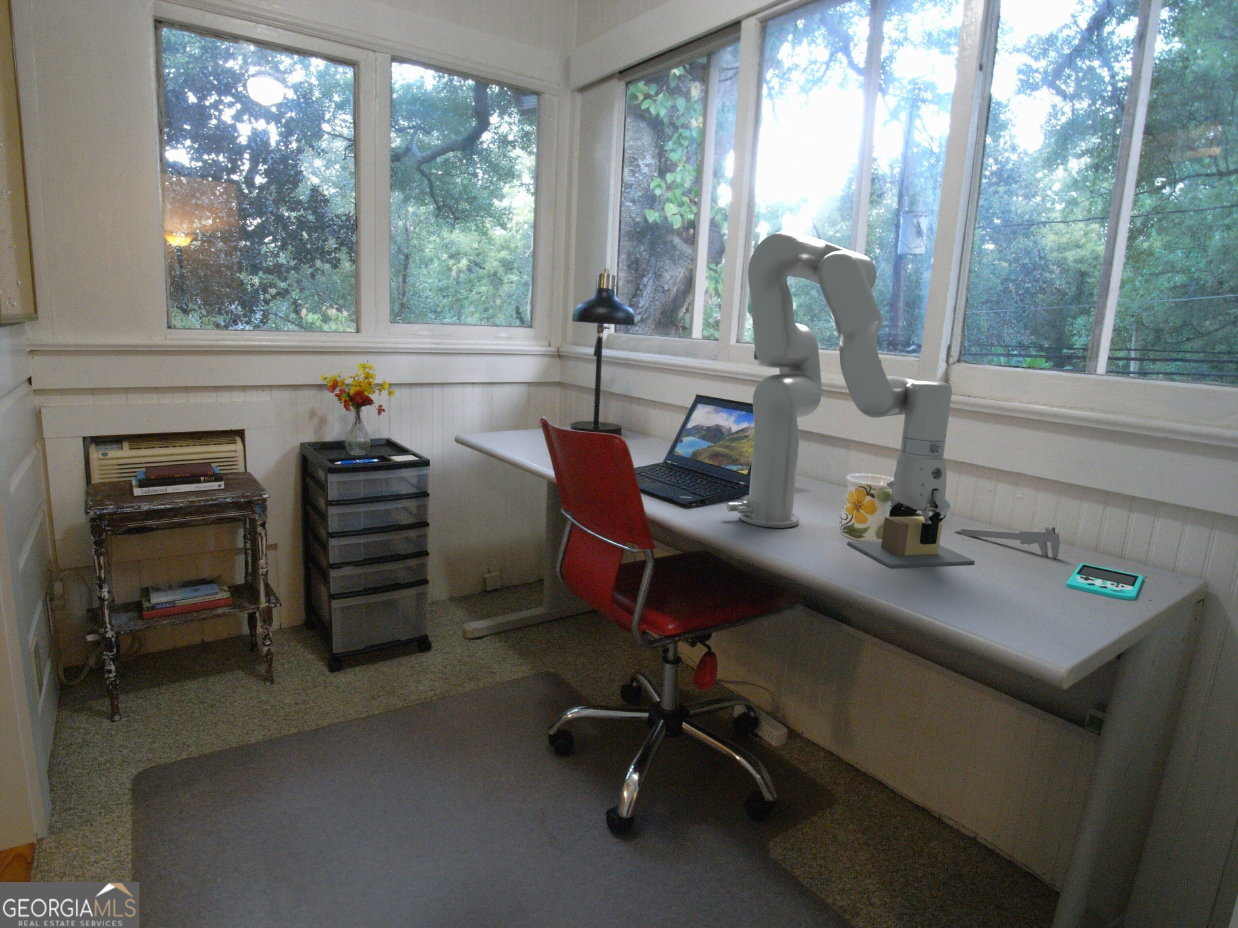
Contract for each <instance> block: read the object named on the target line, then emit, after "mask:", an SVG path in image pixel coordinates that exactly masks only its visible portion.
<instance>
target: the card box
mask: <svg viewBox="0 0 1238 928" xmlns="http://www.w3.org/2000/svg"><path fill="white" fill-rule="evenodd" d="M922 523H925V520H924V518H923V515H922V516H921V515H920V516H905V517H889V516H884V519H883V527H882V528H883V529H882V535H881V540H882V543H881V548H883V549H885V550H887V551H889V552H891V553H893V554H895V555H897V556H905V555H923V554H938V550H939V545H940V543H941V534H942V530H943V523H941V524H939V527H938V534H937V542H936V544H926V545H923V544H921V543H920V535H921V528H922Z"/></svg>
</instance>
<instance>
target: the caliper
mask: <svg viewBox="0 0 1238 928" xmlns="http://www.w3.org/2000/svg"><path fill="white" fill-rule="evenodd" d="M954 533H956V534H960V535H963V536H965V537H966V536H967V537H978V538H990V539H1003V540H1014V541H1019V542H1020V544H1021V545H1028V546H1029V545H1034V544H1037V545H1038V548H1039V551H1040V552H1041V555H1042V557H1049V554H1048V553H1049V549H1048V543H1050V545H1051V546H1050V548H1051V555H1052V560H1053V559H1057V558H1058V557H1059V551H1060V545H1061V544H1060V543H1061V541H1060V534H1059V533H1058V532H1056V528H1055V526H1054V527H1051V529H1050V527H1049V526H1045V531H1038V530H1019V531H1009V530H1008V531H1006V530H993V529H980V528H979V529H977V528H960V529H959V530H955V531H954Z"/></svg>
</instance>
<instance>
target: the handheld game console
mask: <svg viewBox="0 0 1238 928" xmlns="http://www.w3.org/2000/svg"><path fill="white" fill-rule="evenodd" d="M1143 580H1144V576H1143V575H1139V574H1135V573H1130V572H1126V571H1121V570H1116V569H1112V568H1107V567H1102V566H1097V565H1093V564H1087V563H1082V562H1081V563H1080V564H1079V565H1078V566H1077V568H1076V569H1075V570H1074V572H1073V573H1072V574H1071V576H1070V577H1069V579H1068V580H1067V581H1066V583H1065V587H1066V588H1068V589H1069V588H1070V589H1074V590H1078V591H1082V592H1087V593H1092V594H1095V595H1100V596H1104V597H1109V598H1113V597H1114V598H1115V599H1120V600H1126V601H1129V600H1131V601H1132V600H1135V599H1136V597H1137V594H1138V593H1139V590H1140V587H1141V585H1142V583H1143Z"/></svg>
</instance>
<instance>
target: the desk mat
mask: <svg viewBox="0 0 1238 928" xmlns="http://www.w3.org/2000/svg"><path fill="white" fill-rule="evenodd" d="M870 541H871V540H854V541H853V540H852V541H851V540H850V541H847V543H846V544H847V545H848V546H850V547H851V548H853V549H855V550H857V551H859V552H860V553H862V554H864V555H866V556H868V557H870V558H871V559H873V560H875V561H877V562H879V563H880V564H883V565H884V566H886V567H888V568H889V569H892V568H893V569H894V568H913V567H914V568H916V567H917V568H918V567H934V566H935V567H937V566H938V567H939V566H940V567H941V566H956V565H974V564H975V563H976V561H975V559H971V558H969V557H967V556H966V555H963V554H961V553H958V552H957V551H956V552H955V551H954V550H952V549H950V548H948V547H945V546H943V545H941V544H939V550H938V554H923V555H905V556H897V555H895V554H893V553H891V552H889V551H887V550H885V549H883V548H881V543H882V542H870Z"/></svg>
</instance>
